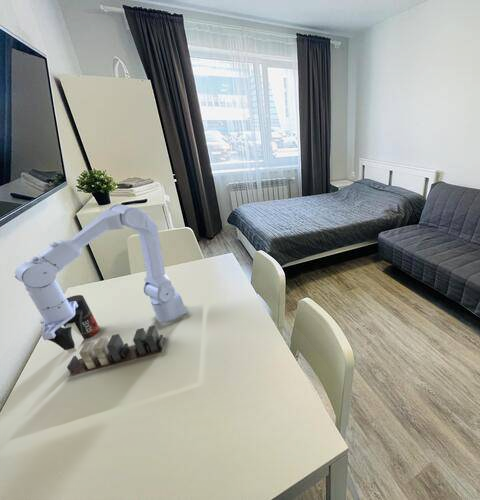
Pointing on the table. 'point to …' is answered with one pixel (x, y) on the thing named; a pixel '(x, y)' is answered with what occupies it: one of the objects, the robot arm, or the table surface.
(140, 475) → the table surface
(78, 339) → the cream book
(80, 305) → the deodorant
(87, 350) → the book rack
